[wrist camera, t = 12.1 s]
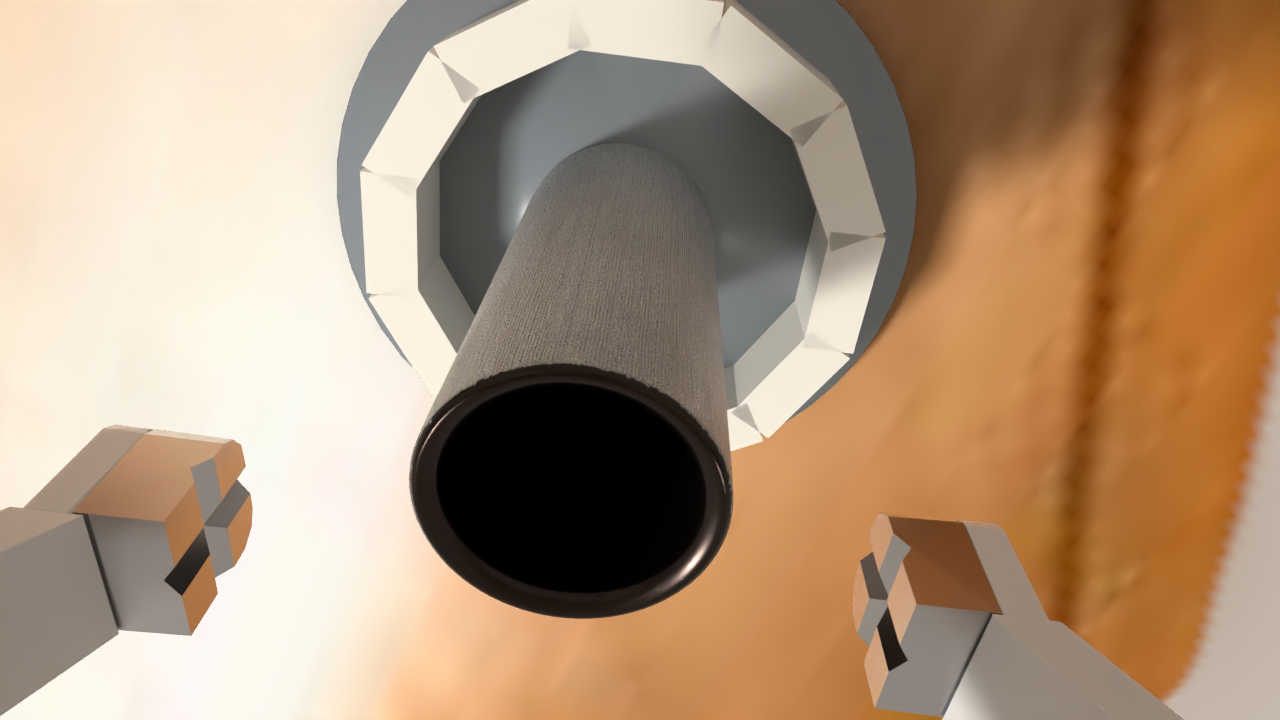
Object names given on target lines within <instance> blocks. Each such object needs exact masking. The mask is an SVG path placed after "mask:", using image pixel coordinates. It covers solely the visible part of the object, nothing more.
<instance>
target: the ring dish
mask: <svg viewBox="0 0 1280 720" xmlns="http://www.w3.org/2000/svg"><path fill="white" fill-rule="evenodd" d="M608 143H625V144H633V145H638V146H642V147H646V148H649V149H651V150H654V151H656V152H658V153H661V154H662V155H664V156H666V157H668V158H669V159H671V160H672V161H674V162H675V163H676V164H678V165H679V166H680V167H681V168H682V169H683V170H684V171H686V173H687V174H688V175H689V176H690V177H691V178H692V179H693V181H694V182H695V183H696V185H697V186H698V188H699V190H700V191H701V193H702V195H703V197H704V199H705V202H706V205H707V207H708V211H709V215H710V219H711V223H712V229H713V239H714V252H715V264H716V277H717V290H718V302H719V315H720V328H721V340H722V353H723V365H724V378H725V391H726V403H727V416H728V429H729V441H730V451H733V450H737V449H740V448H743V447H746V446H749V445H752V444H756V443H759V442H762V441H763V435H764V436H766V437H767V438H769V437H770V436H771V435H772V434H773V433H774V432H775V431H776V430H777V429H778V428H779V427H780V426H781V425H782V424H784V423H785V422H787V421H788V420H790V419H791V418H793V417H794V416H796V415H797V414H799V413H800V412H802V411H803V410H805V409H806V408H808V407H809V406H810V405H812V404H813V403H814V402H815V401H816V400H817V399H819V398H820V397H821V396H822V395H823V394H825V393H826V392H827V391H828V390H829V389H830V388H832V387H833V386H834V385H835V384H836V383H837V382H838V381H839V380H840V379H841V377H842V376H843V375H844V374H845V373H846V372H847V371H848V370H849V369H850V368H851V367H852V365H853V364H854V363H855V362H856V361H857V360H858V359H859V357H860V356H861V354H862V353H863V352H864V350H865V349H866V347H867V346H868V345H869V343H870V342H871V340H872V339H873V338H874V336H875V335H876V333H877V332H878V330H879V328H880V326H881V324H882V322H883V321H884V319H885V317H886V315H887V313H888V311H889V309H890V307H891V306H892V304H893V302H894V299H895V296H896V294H897V291H898V288H899V286H900V283H901V280H902V278H903V275H904V272H905V270H906V265H907V261H908V257H909V252H910V248H911V243H912V239H913V235H914V224H915V212H916V201H917V194H916V175H915V159H914V154H913V149H912V144H911V139H910V134H909V129H908V124H907V120H906V118H905V115H904V112H903V109H902V106H901V104H900V101H899V98H898V95H897V92H896V89H895V87H894V84H893V82H892V80H891V78H890V76H889V75H888V73H887V71H886V69H885V67H884V65H883V63H882V61H881V59H880V57H879V56H878V54H877V52H876V50H875V48H874V47H873V45H872V44H871V43H870V41H869V40H868V39H867V37H866V36H865V34H864V33H863V32H862V30H861V29H860V28H859V26H858V25H857V24H856V22H855V21H854V19H853V18H852V17H851V15H850V14H849V13H848V12H847V11H846V10H845V9H844V8H843V7H842V6H841V5H840V4H839V3H838V2H837V1H836V0H407V1H406V2H405V3H404V5H403V6H402V7H401V8H400V9H399V10H398V11H397V12H396V14H395V15H394V16H393V17H392V18H391V19H390V21H389V22H388V24H387V25H386V27H385V29H384V30H383V32H382V33H381V35H380V36H379V38H378V39H377V41H376V42H375V44H374V45H373V47H372V48H371V50H370V52H369V53H368V56H367V58H366V60H365V62H364V64H363V67H362V69H361V71H360V73H359V75H358V78H357V80H356V82H355V84H354V86H353V89H352V92H351V96H350V99H349V103H348V106H347V110H346V113H345V116H344V120H343V123H342V130H341V137H340V144H339V151H338V158H337V200H338V208H339V215H340V222H341V230H342V235H343V239H344V242H345V246H346V250H347V253H348V257H349V261H350V264H351V268H352V270H353V272H354V275H355V277H356V280H357V282H358V284H359V287H360V289H361V292H362V294H363V297H364V299H365V301H366V302H367V304H368V306H369V308H370V309H371V311H372V313H373V315H374V317H375V318H376V320H377V322H378V324H379V325H380V327H381V329H382V330H383V332H384V333H385V334H386V336H387V337H388V338H389V340H390V341H391V342H392V344H393V345H394V346H395V348H396V349H397V351H398V352H399V353H400V355H401V356H402V357H403V358H404V359H405V360H406V361H407V362H408V363H409V364H410V366H411V367H412V368H413V369H414V370H415V372H416V373H417V375H418V377H419V378H420V380H421V381H422V383H423V384H424V386H425V387H426V389H427V391H428V392H429V394H430V395H431V397H432V396H435V395H438V393H439V391H440V389H441V387H442V385H443V383H444V381H445V379H446V376H447V374H448V372H449V370H450V368H451V366H452V364H453V362H454V360H455V357H456V355H457V353H458V351H459V349H460V347H461V345H462V343H463V341H464V339H465V336H466V334H467V332H468V330H469V328H470V326H471V324H472V322H473V320H474V318H475V315H476V313H477V311H478V309H479V307H480V305H481V303H482V301H483V299H484V297H485V294H486V292H487V290H488V288H489V286H490V284H491V282H492V280H493V278H494V275H495V273H496V271H497V269H498V267H499V265H500V263H501V261H502V259H503V257H504V254H505V252H506V250H507V248H508V246H509V244H510V242H511V240H512V238H513V236H514V233H515V231H516V229H517V227H518V225H519V223H520V221H521V219H522V217H523V215H524V212H525V210H526V208H527V206H528V204H529V202H530V200H531V198H532V196H533V194H534V192H535V191H536V189H537V188H538V186H539V185H540V183H541V182H542V180H543V179H544V178H545V176H546V175H547V174H548V173H549V172H550V171H551V170H552V169H553V168H554V167H555V166H556V165H557V164H558V163H560V162H561V161H562V160H564V159H565V158H567V157H568V156H570V155H572V154H574V153H576V152H578V151H580V150H582V149H585V148H588V147H592V146H596V145H601V144H608ZM762 434H763V435H762Z"/></svg>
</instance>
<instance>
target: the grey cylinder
mask: <svg viewBox="0 0 1280 720" xmlns="http://www.w3.org/2000/svg"><path fill="white" fill-rule="evenodd" d="M409 488H410V495H411V501H412V505H413V509H414V512H415V515H416V518H417V521H418V523H419V525H420V527H421V529H422V531H423V533H424V535H425V537H426V539H427V540H428V542H429V543H430V545H431V546H432V548H433V549H434V550H435V552H436V553H437V554H438V555H439V557H440V558H441V559H442V560H443V561H444V562H445V563H446V564H447V565H448V566H449V567H450V568H451V569H452V570H453V571H454V572H455V573H456V574H458V575H459V576H460V577H461V578H462V579H464V580H465V581H466V582H468V583H469V584H471V585H472V586H474V587H475V588H477V589H478V590H480V591H481V592H483V593H485V594H487V595H489V596H490V597H493V598H495V599H497V600H499V601H501V602H503V603H506V604H508V605H511V606H513V607H516V608H519V609H522V610H526V611H529V612H533V613H537V614H542V615H547V616H553V617H561V618H574V619H592V618H605V617H613V616H618V615H624V614H628V613H632V612H635V611H639V610H642V609H645V608H647V607H650V606H653V605H655V604H657V603H659V602H662V601H664V600H666V599H667V598H669V597H671V596H673V595H675V594H676V593H678V592H679V591H681V590H682V589H684V588H685V587H686V586H688V585H689V584H690V583H692V582H693V581H694V580H695V579H696V578H697V577H698V576H699V575H700V574H701V573H702V572H703V571H704V570H705V569H706V568H707V567H708V565H709V564H710V563H711V562H712V560H713V559H714V557H715V556H716V554H717V553H718V551H719V549H720V548H721V546H722V544H723V542H724V539H725V537H726V535H727V532H728V529H729V526H730V522H731V517H732V510H733V480H732V467H731V454H730V441H729V429H728V416H727V403H726V391H725V378H724V365H723V353H722V340H721V328H720V315H719V302H718V290H717V277H716V264H715V252H714V239H713V229H712V223H711V219H710V215H709V211H708V207H707V205H706V202H705V199H704V197H703V195H702V193H701V191H700V190H699V188H698V186H697V185H696V183H695V182H694V181H693V179H692V178H691V177H690V176H689V175H688V174H687V173H686V171H684V170H683V169H682V168H681V167H680V166H679V165H678V164H676V163H675V162H674V161H672V160H671V159H669V158H668V157H666V156H664V155H662V154H661V153H658V152H656V151H654V150H651V149H649V148H646V147H642V146H638V145H633V144H625V143H608V144H601V145H596V146H592V147H588V148H585V149H582V150H580V151H578V152H576V153H574V154H572V155H570V156H568V157H567V158H565V159H564V160H562V161H561V162H560V163H558V164H557V165H556V166H555V167H554V168H553V169H552V170H551V171H550V172H549V173H548V174H547V175H546V176H545V178H544V179H543V180H542V182H541V183H540V185H539V186H538V188H537V189H536V191H535V192H534V194H533V196H532V198H531V200H530V202H529V204H528V206H527V208H526V210H525V212H524V215H523V217H522V219H521V221H520V223H519V225H518V227H517V229H516V231H515V233H514V236H513V238H512V240H511V242H510V244H509V246H508V248H507V250H506V252H505V254H504V257H503V259H502V261H501V263H500V265H499V267H498V269H497V271H496V273H495V275H494V278H493V280H492V282H491V284H490V286H489V288H488V290H487V292H486V294H485V297H484V299H483V301H482V303H481V305H480V307H479V309H478V311H477V313H476V315H475V318H474V320H473V322H472V324H471V326H470V328H469V330H468V332H467V334H466V336H465V339H464V341H463V343H462V345H461V347H460V349H459V351H458V353H457V355H456V357H455V360H454V362H453V364H452V366H451V368H450V370H449V372H448V374H447V376H446V379H445V381H444V383H443V385H442V387H441V389H440V391H439V393H438V395H437V397H436V400H435V402H434V404H433V406H432V408H431V410H430V412H429V414H428V416H427V419H426V421H425V423H424V425H423V427H422V429H421V432H420V434H419V436H418V439H417V441H416V444H415V447H414V450H413V453H412V457H411V463H410V471H409Z"/></svg>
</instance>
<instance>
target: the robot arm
mask: <svg viewBox="0 0 1280 720" xmlns="http://www.w3.org/2000/svg"><path fill="white" fill-rule="evenodd" d="M244 468H245V461H244V456H243V452H242V447H241V445H240V444H239V443H237V442H236V441H234V440H231V439H224V438H216V437H209V436H202V435H194V434H187V433H179V432H172V431H165V430H157V429H156V430H151V429H145V428H137V427H130V426H122V425H113V426H110V427H107V428H104V429H102V430H101V431H100V432H99V433H98V434H97V435H96V436H95V437H94V438H93V439H92V440H91V441H90V442H89V443H88V444H87V445H86V446H85V447H84V448H83V449H82V450H81V451H80V452H79V453H78V454H77V455H76V456H75V457H74V458H73V459H72V460H71V461H70V462H69V463H68V464H67V465H66V466H65V467H64V468H63V469H62V470H61V471H60V472H59V473H58V474H57V475H56V476H55V477H54V478H53V479H52V480H51V481H50V482H49V483H48V484H47V485H46V486H45V487H44V488H43V489H42V490H41V491H40V492H39V493H38V494H37V495H36V496H35V497H34V498H33V499H32V500H31V501H30V502H29V503H28V504H27V505H26V506H25V507H24V508H15V507H9V508H6V509H4V510H1V511H0V716H1V715H2V714H4V713H5V712H7V711H8V710H10V709H11V708H12V707H14V706H15V705H17V704H18V703H20V702H21V701H22V700H24V699H25V698H27V697H28V696H30V695H31V694H33V693H34V692H35V691H37V690H38V689H40V688H41V687H43V686H44V685H46V684H47V683H48V682H50V681H51V680H53V679H54V678H56V677H57V676H59V675H60V674H61V673H63V672H64V671H66V670H67V669H69V668H70V667H71V666H73V665H74V664H76V663H77V662H79V661H80V660H82V659H83V658H84V657H86V656H87V655H89V654H90V653H92V652H93V651H95V650H96V649H97V648H99V647H100V646H102V645H103V644H105V643H106V642H108V641H109V640H110V639H112V638H113V637H115V636H116V635H118V633H119V632H118V630H126V631H139V632H151V633H164V634H177V635H190V636H191V635H192V634H193V632H194V630H195V629H196V627H197V626H198V624H199V622H200V621H201V619H202V618H203V616H204V614H205V613H206V611H207V610H208V608H209V607H210V605H211V603H212V602H213V600H214V599H215V597H216V595H217V594H218V592H217V587H216V582H215V577H217V576H219V575H220V574H222V573H224V572H226V571H227V570H229V569H231V568H232V567H234V566H235V565H236V563H237V561H238V559H239V558H240V556H241V554H242V553H243V551H244V549H245V546H246V543H247V540H248V536H249V533H250V530H251V526H252V502H251V496H250V493H249V492H248V491H247V490H246V489H245V488H244V487H243V486H242V485H241V484H240V482H239V481H238V480H237V478H238V477H239V475H240V474H241V472H242V471H243V469H244ZM869 538H870V542H871V546H872V549H873V552H872V553H871V554H869V555H868V556H867V557H865V558H864V559H862V560H861V561H860V563H859V566H858V569H857V573H856V576H855V579H854V588H853V598H852V605H853V617H854V622H855V627H856V631H857V634H858V635H859V636H860V637H861V638H862V639H863V640H864V641H865V642H866V643H867V644H868V645H869V646H870V647H869V650H868V652H867V655H866V658H865V660H864V666H865V670H866V674H867V679H868V683H869V687H870V691H871V695H872V699H873V703H874V708H878V709H886V710H893V711H901V712H908V713H916V714H923V715H931V716H938V717H943V719H942V720H1184V719H1182V718H1181V717H1180V716H1179V715H1177V714H1176V713H1175V712H1174V711H1172V710H1171V709H1170V708H1169V707H1167V706H1166V705H1165V704H1164V703H1162V702H1161V701H1160V700H1159V699H1157V698H1156V697H1155V696H1154V695H1152V694H1151V693H1150V692H1149V691H1147V690H1146V689H1145V688H1143V687H1142V686H1141V685H1140V684H1138V683H1137V682H1136V681H1135V680H1133V679H1132V678H1131V677H1130V676H1128V675H1127V674H1126V673H1125V672H1123V671H1122V670H1121V669H1120V668H1118V667H1117V666H1116V665H1114V664H1113V663H1112V662H1111V661H1109V660H1108V659H1107V658H1106V657H1104V656H1103V655H1102V654H1101V653H1099V652H1098V651H1097V650H1096V649H1094V648H1093V647H1092V646H1091V645H1089V644H1088V643H1087V642H1085V641H1084V640H1083V639H1082V638H1080V637H1079V636H1078V635H1077V634H1075V633H1074V632H1073V631H1072V630H1070V629H1069V628H1068V627H1067V626H1065V625H1064V624H1063V623H1062V622H1057V621H1049V620H1048V618H1047V616H1046V614H1045V612H1044V610H1043V608H1042V606H1041V604H1040V601H1039V599H1038V597H1037V595H1036V593H1035V591H1034V589H1033V587H1032V585H1031V583H1030V581H1029V579H1028V577H1027V575H1026V573H1025V571H1024V569H1023V567H1022V565H1021V563H1020V561H1019V559H1018V557H1017V555H1016V553H1015V551H1014V549H1013V547H1012V545H1011V543H1010V541H1009V539H1008V537H1007V535H1006V533H1005V531H1004V529H1003V528H1002V527H1000V526H999V525H998V524H997V523H986V522H975V521H964V520H957V521H953V520H945V519H935V518H926V517H916V516H907V515H898V514H888V513H880V514H879V515H878V516H877V518H876V519H875V520H874V522H873V525H872V528H871V531H870V534H869Z"/></svg>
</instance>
